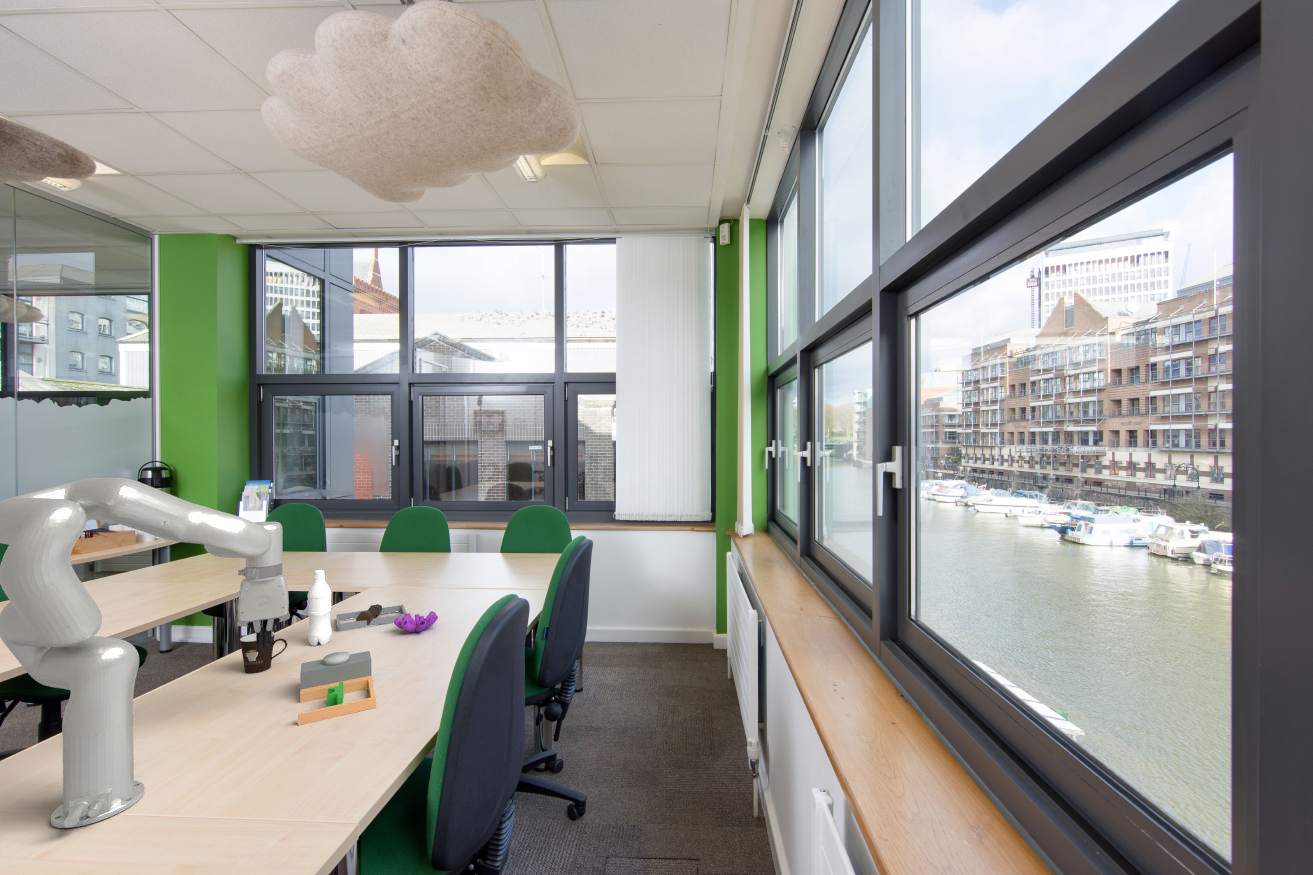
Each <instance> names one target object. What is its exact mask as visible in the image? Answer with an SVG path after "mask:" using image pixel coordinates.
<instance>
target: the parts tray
mask: <svg viewBox="0 0 1313 875" xmlns="http://www.w3.org/2000/svg"><path fill="white" fill-rule="evenodd" d="M366 611H368V609H366V610H365V609H364V610H359V611H351V612H345V613H337V614H335V615H336V632H337V631H339V632H344V631H343V630H345V631H349V630H348V629H351V630H356V629H355V628H357V629H362V628H361V627H364V628H367V627H366V626H370V627H372V626H371V625H376V626H378V625H377V624H382V625H384V624H383V623H389V622H394V620H395V619H397V618H400V619H402V618H403V617H404V615H406V614H408V613H407V610H406V608H405V606H404V605H403V604H400V605H393V606H386V607H382V611H381V613H380V614H382V613H389V612H396V611H401V612H402V613H401V612H400V614H395V615H390V616H389V615H387V616H382V617H374V618H373V619H372V621H371V622H370V624H369V625H367V620H363V621H356V620H355V621H350V622H344V623H340V622H341V621H340V620H344V621H347V620H346V619H350V618H357V617H358V615H359V613H360V612H366ZM350 620H351V619H350ZM389 624H390V623H389Z"/></svg>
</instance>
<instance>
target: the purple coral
mask: <svg viewBox="0 0 1313 875" xmlns="http://www.w3.org/2000/svg"><path fill="white" fill-rule="evenodd" d="M438 619H439V615H437V613H436V612H435V611H429V613H428V614H427V616H424V615H420V614H419V613H417V614H414V618H413V616H412V615H411V613H407V614H406V615H404V617H403V618H402V619H400V618H397V619H395V620H394V623H393V624H394V625H395V626H396V627H397V628H398V629H401V630H403V631H406V632H408V633H409V632H410V633H420V632H422V631H424V630H427V629H428V628H431V626H433V625H434V624H435V623H436V622H437V621H438Z"/></svg>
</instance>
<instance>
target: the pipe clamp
mask: <svg viewBox="0 0 1313 875" xmlns="http://www.w3.org/2000/svg"><path fill="white" fill-rule="evenodd" d="M339 704H344V694H343V682H339V686H338V687H332V688H328V694H327V697H326V707H330V706H334V705H339Z"/></svg>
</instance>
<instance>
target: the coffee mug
mask: <svg viewBox="0 0 1313 875" xmlns="http://www.w3.org/2000/svg"><path fill="white" fill-rule="evenodd" d="M275 635H276V634H275V632H274V631H271V643H268V647H267V648H265V647H264V646H263V648H261V649H259V645H256V632H255V633H250V634H247V635H245V636H242V637H241V638H239V640H240V649H241V653H242V654H241V655H242V661H243V662H242V663H243V668H244V672H245V674H248V675H249V674H250V675H251V674H252V675H253V674H258V673H263V672H266V671H267V670H269V669H271V668H272V660H273V659H274V658H276V657H277V656H280V654H282V653H283V652H284V651H285V650H286V649H287V647H288V642H287V640H286V639H284V638H278V639H277V638H276V639H275ZM280 641H281V642H283V643H284V647H283V648H282V650H280V651H279V652H278V653H276V654H274V655H273V651H274V646H275V644H276V643H278V642H280Z"/></svg>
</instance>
